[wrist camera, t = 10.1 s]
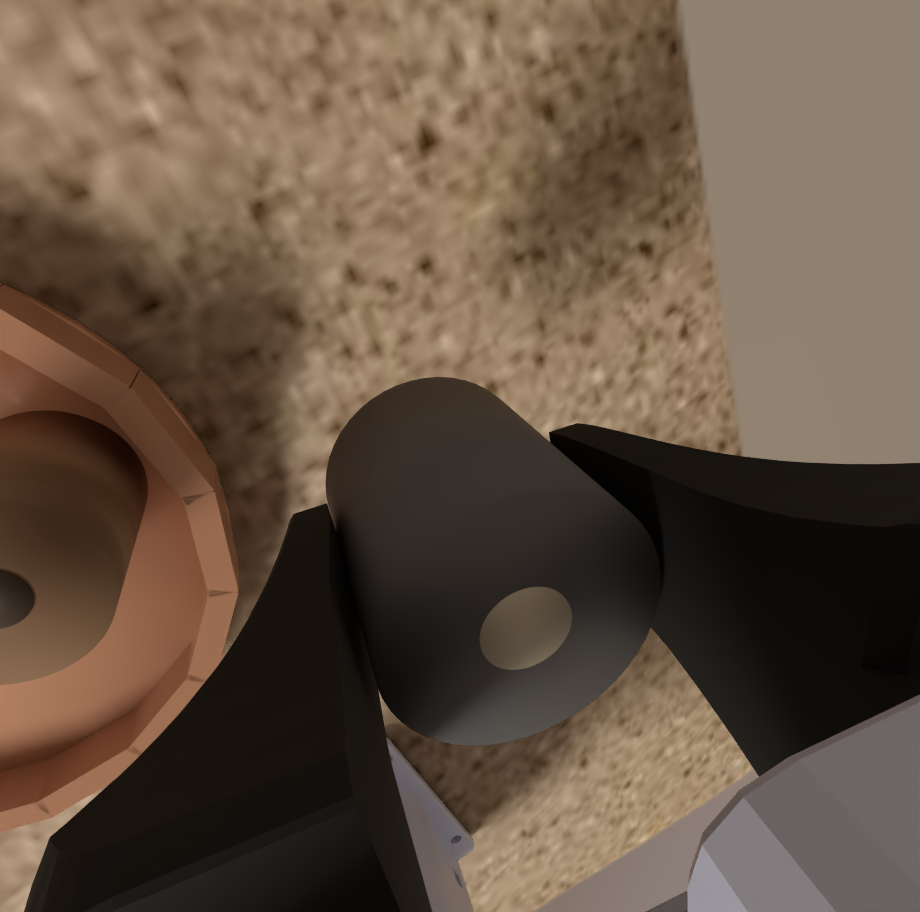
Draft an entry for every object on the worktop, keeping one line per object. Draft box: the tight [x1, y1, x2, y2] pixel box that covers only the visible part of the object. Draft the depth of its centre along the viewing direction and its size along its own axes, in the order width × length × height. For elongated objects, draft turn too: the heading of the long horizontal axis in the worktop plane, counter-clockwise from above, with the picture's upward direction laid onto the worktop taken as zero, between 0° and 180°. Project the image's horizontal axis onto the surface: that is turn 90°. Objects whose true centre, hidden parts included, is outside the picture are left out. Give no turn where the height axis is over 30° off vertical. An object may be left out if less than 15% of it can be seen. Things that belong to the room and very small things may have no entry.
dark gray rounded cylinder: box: [326, 377, 661, 746], centre depth 11 cm, size 4×4×5 cm
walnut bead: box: [0, 410, 148, 685], centre depth 14 cm, size 4×4×5 cm
